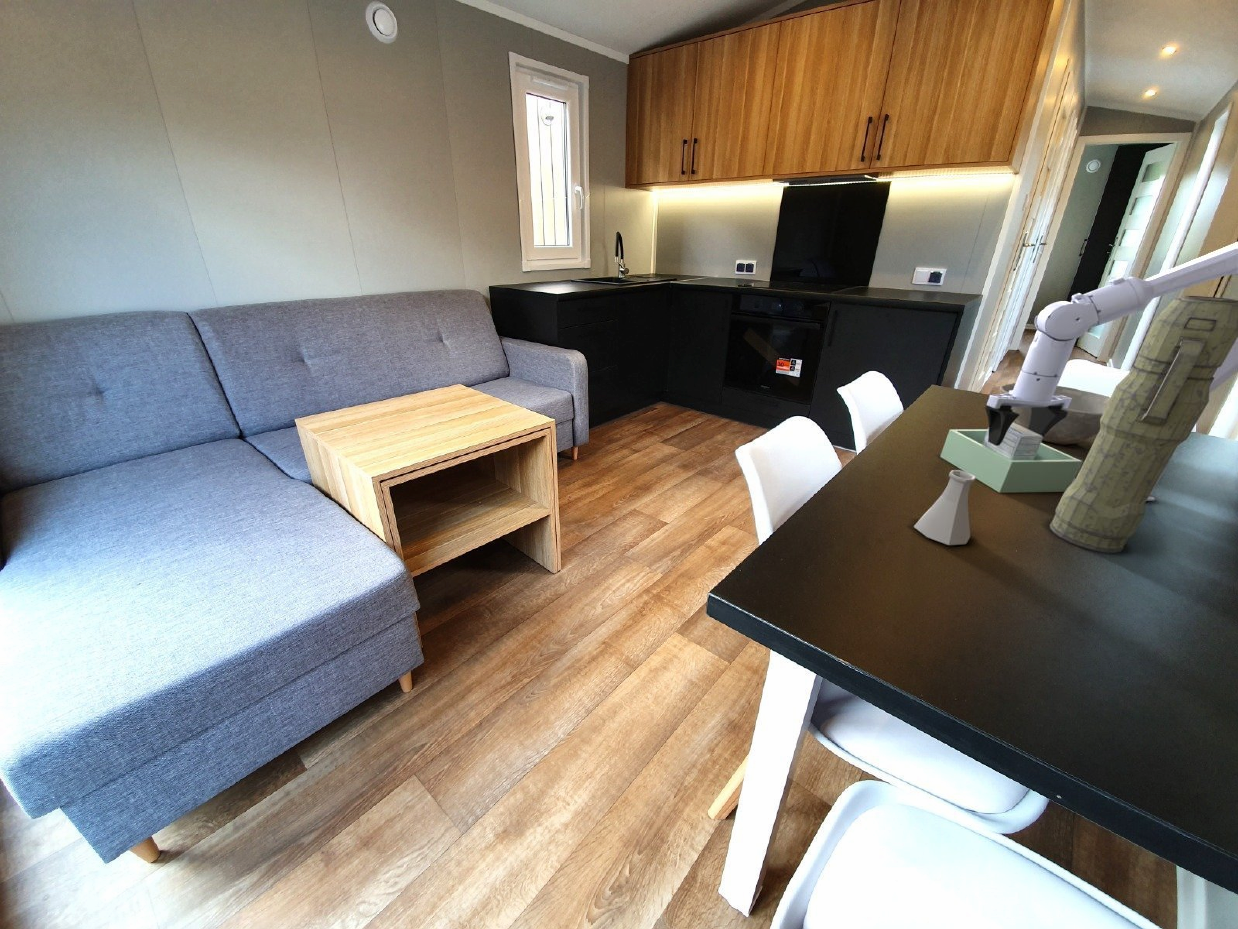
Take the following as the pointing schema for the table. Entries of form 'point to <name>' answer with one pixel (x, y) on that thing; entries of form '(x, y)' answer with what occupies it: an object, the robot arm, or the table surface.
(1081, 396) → the ceramic bowl
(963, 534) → the flask
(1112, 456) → the thermos
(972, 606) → the table surface
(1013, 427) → the medicine box
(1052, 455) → the mint green tray
